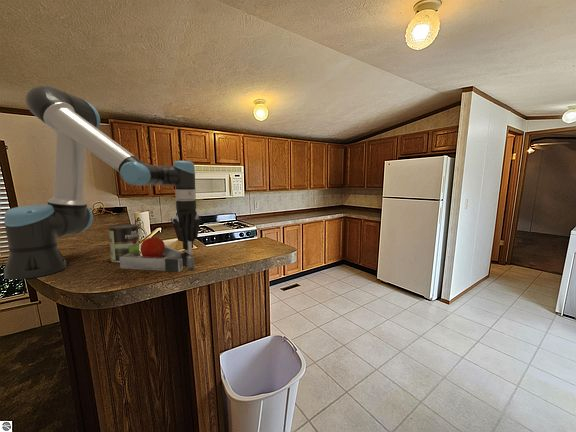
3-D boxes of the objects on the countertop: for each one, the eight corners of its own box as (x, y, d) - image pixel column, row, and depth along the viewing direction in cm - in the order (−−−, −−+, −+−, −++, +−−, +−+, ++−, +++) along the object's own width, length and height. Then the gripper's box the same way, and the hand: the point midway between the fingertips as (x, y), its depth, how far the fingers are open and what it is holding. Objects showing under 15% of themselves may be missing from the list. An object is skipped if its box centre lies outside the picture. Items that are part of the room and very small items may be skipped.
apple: (168, 264, 94) (167, 237, 93) (143, 269, 89) (141, 240, 87) (162, 259, 101) (161, 234, 99) (139, 263, 95) (137, 236, 94)
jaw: (192, 265, 92) (191, 254, 92) (181, 268, 89) (181, 257, 89) (164, 253, 107) (164, 244, 106) (154, 256, 103) (154, 246, 103)
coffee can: (146, 256, 104) (144, 224, 102) (125, 263, 94) (123, 228, 92) (126, 254, 106) (123, 223, 104) (104, 261, 96) (101, 227, 94)
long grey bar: (195, 268, 90) (195, 255, 90) (189, 272, 86) (188, 259, 85) (129, 264, 93) (128, 252, 92) (120, 268, 89) (119, 255, 88)
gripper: (176, 201, 88) (179, 262, 92) (205, 199, 99) (207, 254, 102) (165, 200, 93) (168, 258, 96) (194, 199, 103) (196, 251, 106)
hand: (188, 256), depth 99 cm, fingers closed
